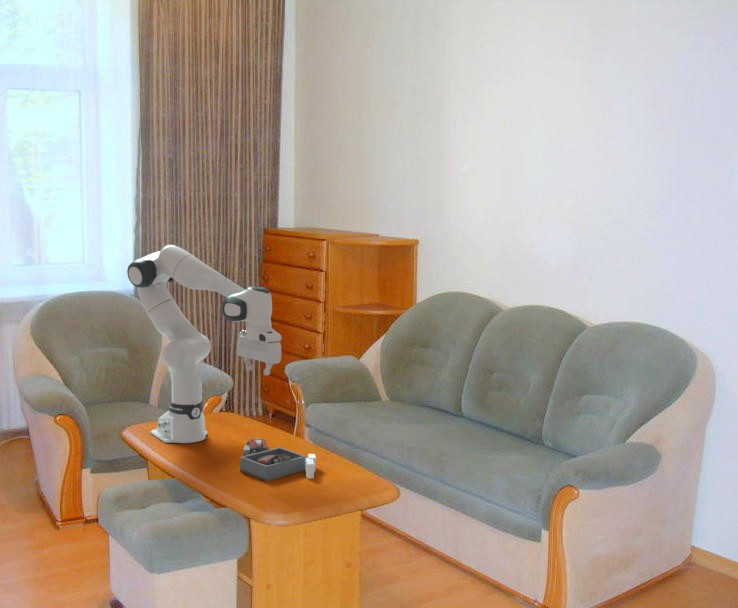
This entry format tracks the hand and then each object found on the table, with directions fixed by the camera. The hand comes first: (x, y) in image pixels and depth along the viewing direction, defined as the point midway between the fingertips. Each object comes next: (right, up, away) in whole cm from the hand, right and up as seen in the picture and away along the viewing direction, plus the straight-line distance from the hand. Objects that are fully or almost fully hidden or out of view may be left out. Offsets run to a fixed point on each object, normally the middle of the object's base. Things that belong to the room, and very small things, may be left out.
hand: (257, 372), depth 312 cm
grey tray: (+6, -33, -8) cm, 34 cm away
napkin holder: (+19, -34, -8) cm, 40 cm away
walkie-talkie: (-2, -31, +11) cm, 33 cm away
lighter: (+3, -30, -6) cm, 30 cm away
